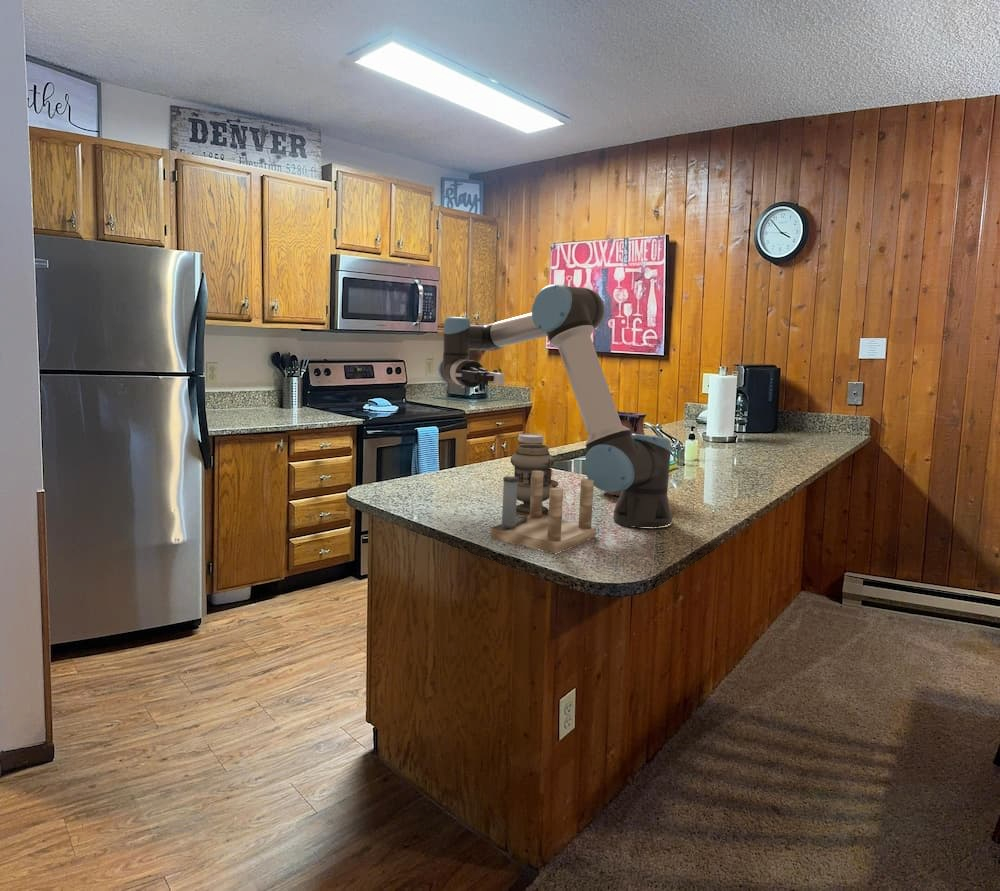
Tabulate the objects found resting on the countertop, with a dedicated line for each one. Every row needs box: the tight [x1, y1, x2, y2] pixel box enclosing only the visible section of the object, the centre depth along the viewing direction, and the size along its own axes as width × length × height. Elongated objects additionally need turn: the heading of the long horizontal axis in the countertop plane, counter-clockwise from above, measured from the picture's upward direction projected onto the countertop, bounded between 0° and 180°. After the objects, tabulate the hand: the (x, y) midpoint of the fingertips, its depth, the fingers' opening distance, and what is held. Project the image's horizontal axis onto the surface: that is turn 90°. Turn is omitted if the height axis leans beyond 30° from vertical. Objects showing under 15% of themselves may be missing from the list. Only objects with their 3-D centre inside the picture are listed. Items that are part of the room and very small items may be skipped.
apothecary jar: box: [510, 444, 555, 516], centre depth 192 cm, size 12×12×18 cm
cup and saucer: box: [549, 467, 559, 488], centre depth 223 cm, size 12×12×6 cm
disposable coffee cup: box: [517, 433, 545, 445], centre depth 254 cm, size 10×10×12 cm
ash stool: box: [490, 470, 597, 554], centre depth 167 cm, size 18×18×14 cm
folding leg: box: [501, 476, 528, 529], centre depth 168 cm, size 11×3×12 cm, turn 155°
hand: (501, 379), depth 179 cm, fingers closed
